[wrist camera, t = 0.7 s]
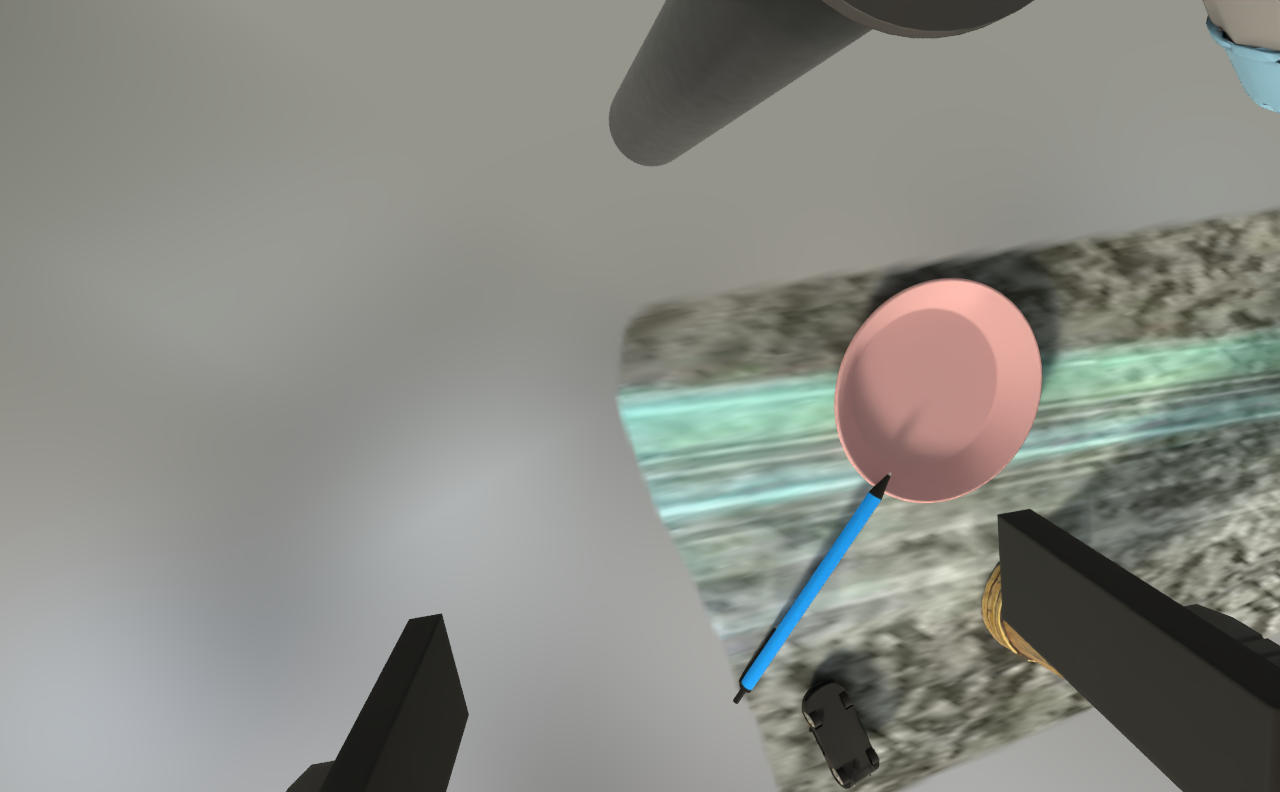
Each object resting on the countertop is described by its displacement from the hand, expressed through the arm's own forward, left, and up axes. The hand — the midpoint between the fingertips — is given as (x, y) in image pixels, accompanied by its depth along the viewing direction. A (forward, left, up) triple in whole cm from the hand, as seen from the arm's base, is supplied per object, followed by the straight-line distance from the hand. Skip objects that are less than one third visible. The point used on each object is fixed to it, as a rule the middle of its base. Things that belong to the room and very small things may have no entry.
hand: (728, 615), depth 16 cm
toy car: (+27, +10, -23) cm, 37 cm away
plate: (+5, +20, -26) cm, 33 cm away
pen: (+16, +10, -24) cm, 30 cm away
